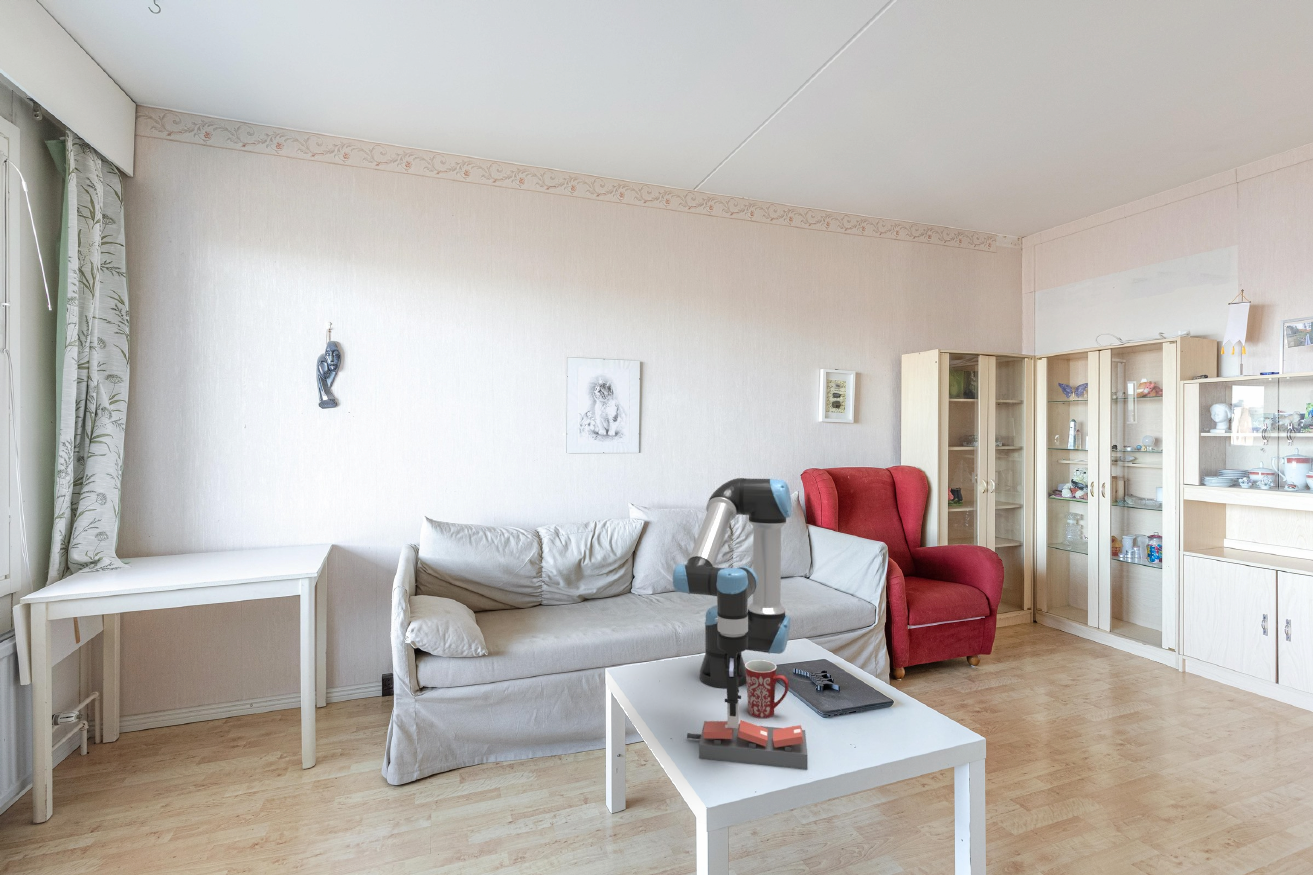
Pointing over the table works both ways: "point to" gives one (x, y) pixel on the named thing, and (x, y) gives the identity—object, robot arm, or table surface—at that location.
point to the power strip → (752, 750)
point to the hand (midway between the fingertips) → (733, 726)
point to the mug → (762, 687)
